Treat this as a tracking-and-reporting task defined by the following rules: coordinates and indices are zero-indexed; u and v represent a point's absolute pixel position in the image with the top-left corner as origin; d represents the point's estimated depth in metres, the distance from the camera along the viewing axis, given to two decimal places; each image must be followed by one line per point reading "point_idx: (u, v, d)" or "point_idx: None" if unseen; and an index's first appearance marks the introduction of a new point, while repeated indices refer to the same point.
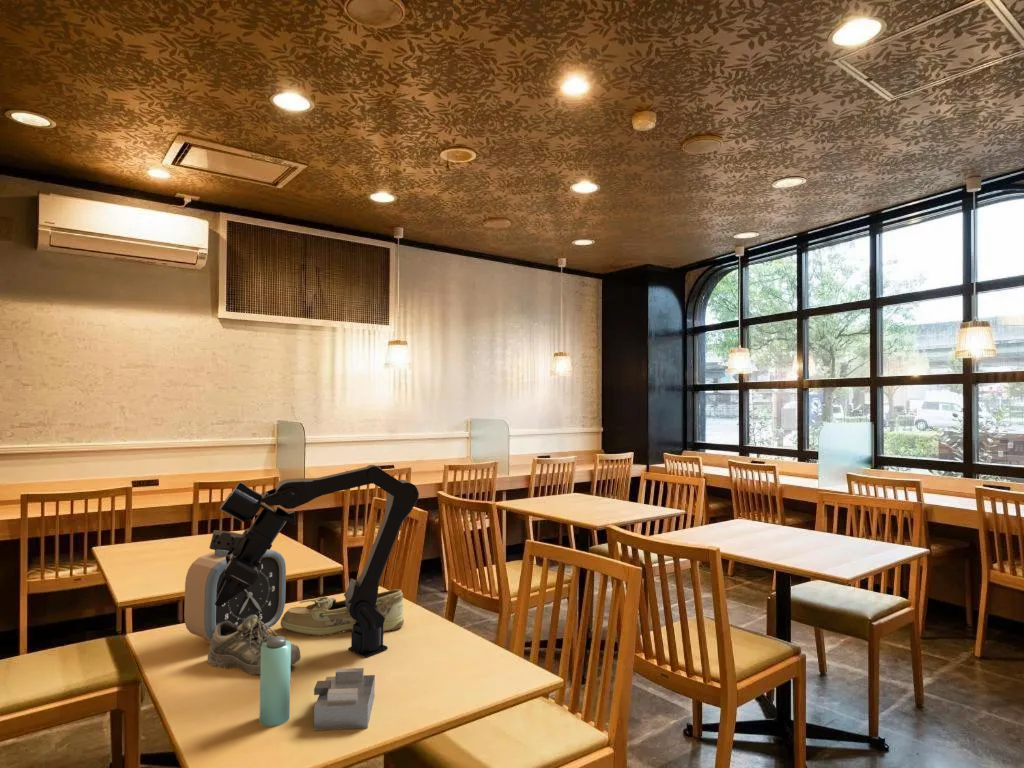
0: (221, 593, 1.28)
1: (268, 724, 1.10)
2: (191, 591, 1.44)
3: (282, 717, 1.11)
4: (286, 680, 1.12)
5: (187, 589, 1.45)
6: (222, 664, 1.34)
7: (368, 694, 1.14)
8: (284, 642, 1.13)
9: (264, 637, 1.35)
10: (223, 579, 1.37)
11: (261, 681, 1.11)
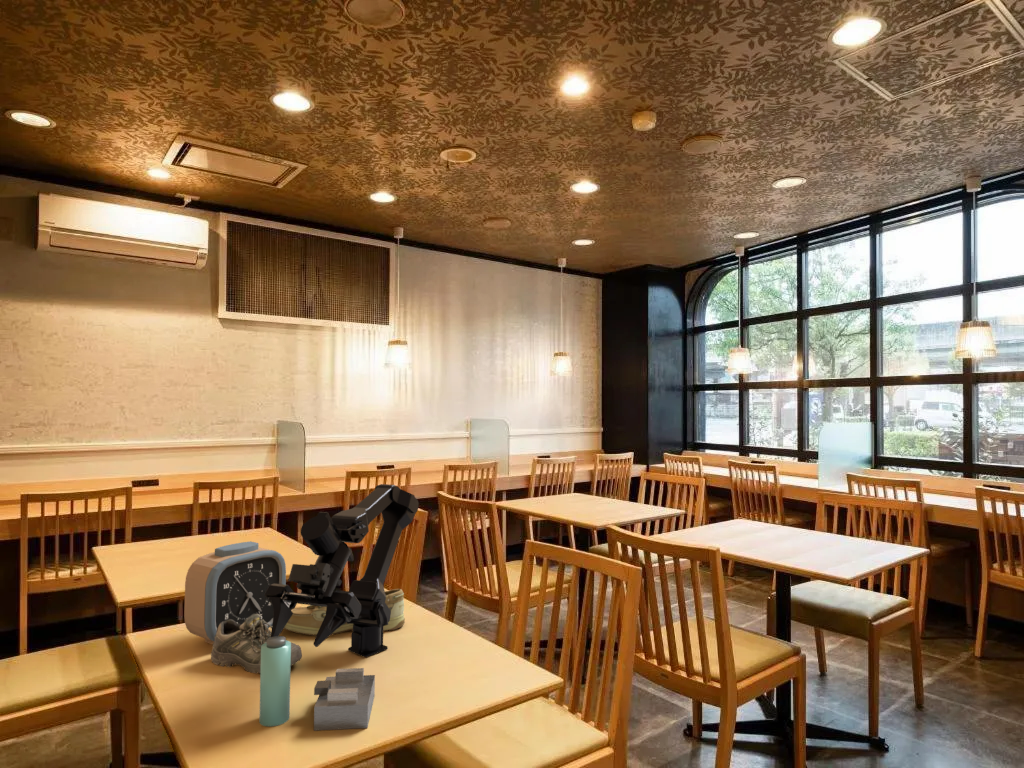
0: (324, 630, 1.17)
1: (268, 724, 1.10)
2: (191, 591, 1.44)
3: (282, 717, 1.11)
4: (286, 680, 1.12)
5: (187, 589, 1.45)
6: (225, 662, 1.34)
7: (368, 694, 1.14)
8: (284, 642, 1.13)
9: (266, 636, 1.36)
10: (277, 623, 1.20)
11: (261, 681, 1.11)
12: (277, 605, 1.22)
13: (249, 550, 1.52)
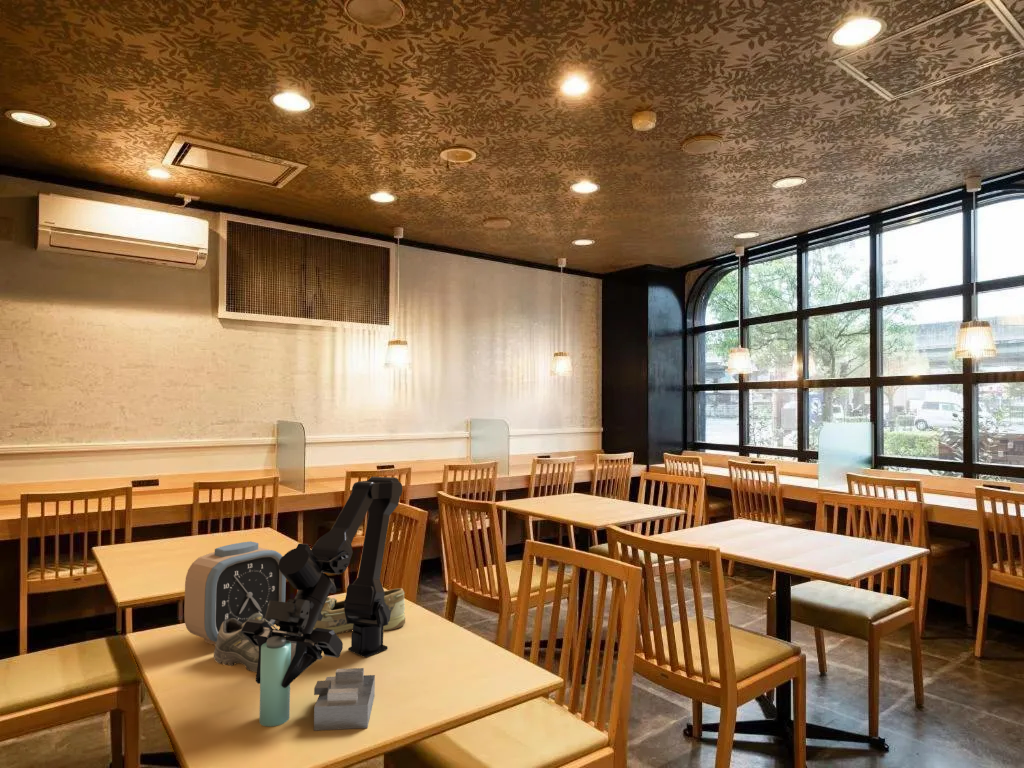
0: (293, 670, 1.12)
1: (268, 724, 1.10)
2: (191, 591, 1.44)
3: (282, 717, 1.11)
4: None
5: (187, 589, 1.45)
6: (227, 661, 1.35)
7: (368, 694, 1.14)
8: (284, 642, 1.13)
9: None
10: None
11: (261, 681, 1.11)
12: None
13: (249, 550, 1.52)
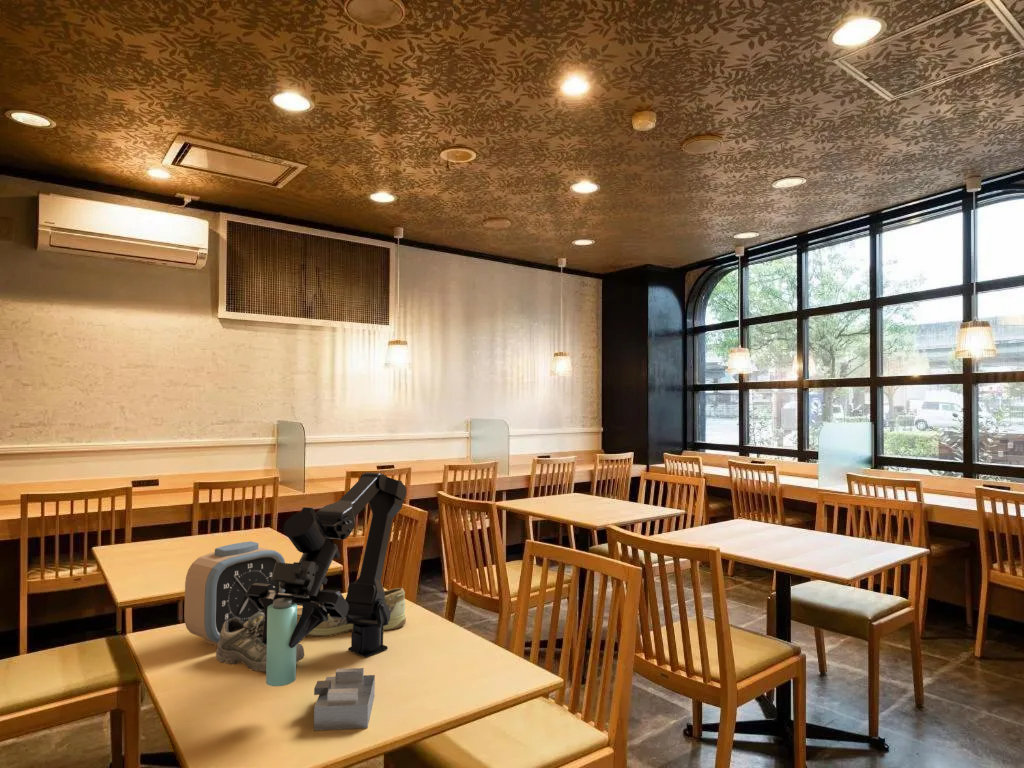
0: (299, 631, 1.12)
1: (275, 684, 1.10)
2: (191, 591, 1.44)
3: (289, 677, 1.11)
4: None
5: (187, 589, 1.45)
6: (229, 660, 1.36)
7: (368, 694, 1.14)
8: (290, 603, 1.13)
9: None
10: None
11: (268, 642, 1.11)
12: None
13: (249, 550, 1.52)
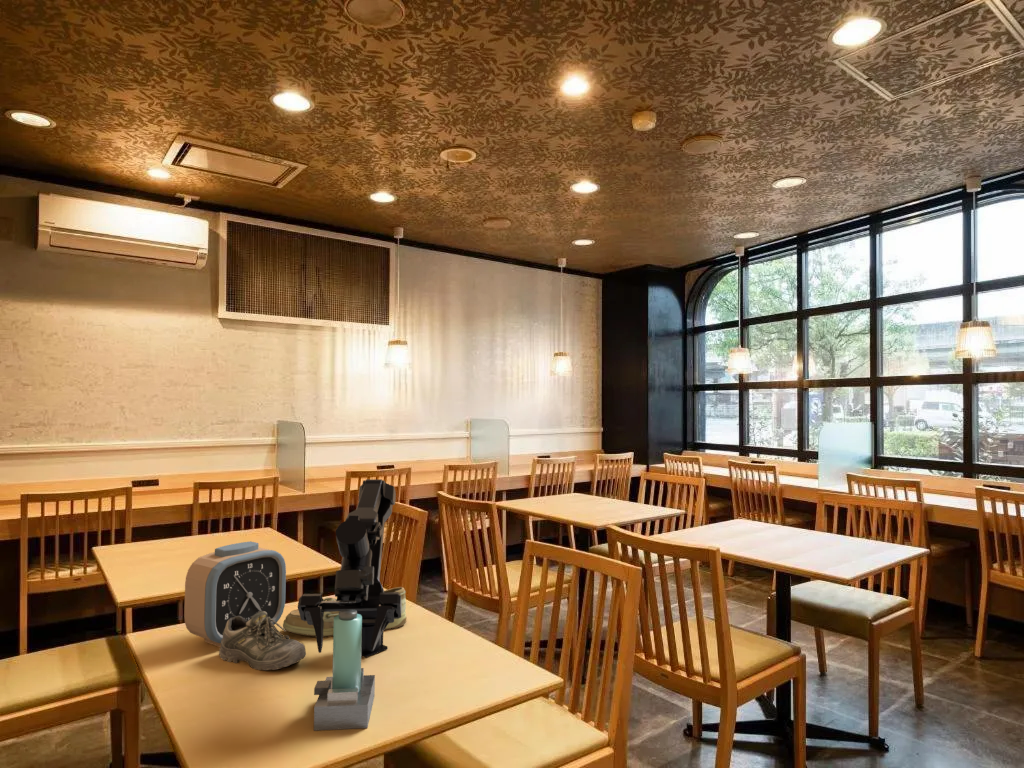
0: (378, 634, 1.16)
1: None
2: (191, 591, 1.44)
3: (358, 685, 1.15)
4: (360, 649, 1.16)
5: (187, 589, 1.45)
6: (231, 658, 1.37)
7: (368, 694, 1.14)
8: (356, 613, 1.16)
9: (272, 633, 1.38)
10: (321, 634, 1.15)
11: (338, 653, 1.13)
12: (316, 615, 1.16)
13: (249, 550, 1.52)
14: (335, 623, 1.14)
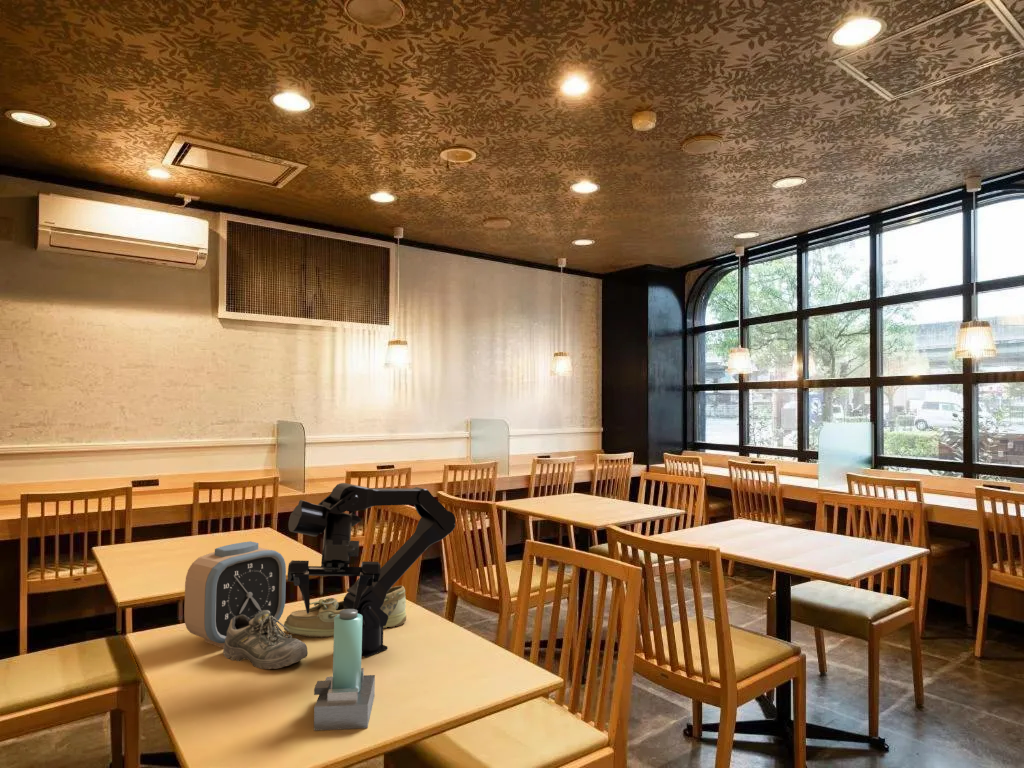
0: (360, 598, 1.32)
1: None
2: (191, 591, 1.44)
3: (359, 685, 1.15)
4: (361, 649, 1.16)
5: (187, 589, 1.45)
6: (235, 657, 1.37)
7: (368, 694, 1.14)
8: (357, 613, 1.16)
9: (274, 632, 1.38)
10: None
11: (338, 653, 1.13)
12: (305, 581, 1.30)
13: (249, 550, 1.52)
14: (336, 622, 1.14)
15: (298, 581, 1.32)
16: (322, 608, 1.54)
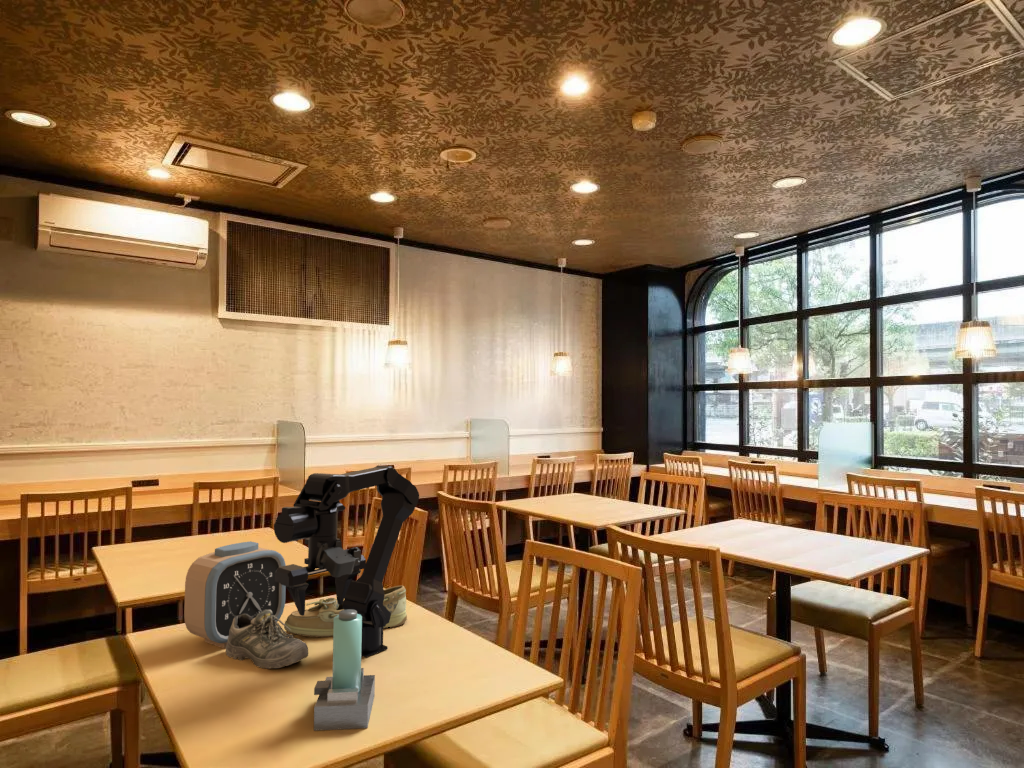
0: None
1: None
2: (191, 591, 1.44)
3: (358, 685, 1.15)
4: (360, 649, 1.15)
5: (187, 589, 1.45)
6: (237, 655, 1.38)
7: (368, 694, 1.14)
8: (356, 614, 1.16)
9: (276, 632, 1.38)
10: None
11: (338, 654, 1.13)
12: (303, 589, 1.27)
13: (249, 550, 1.52)
14: (335, 623, 1.14)
15: None
16: (322, 608, 1.54)
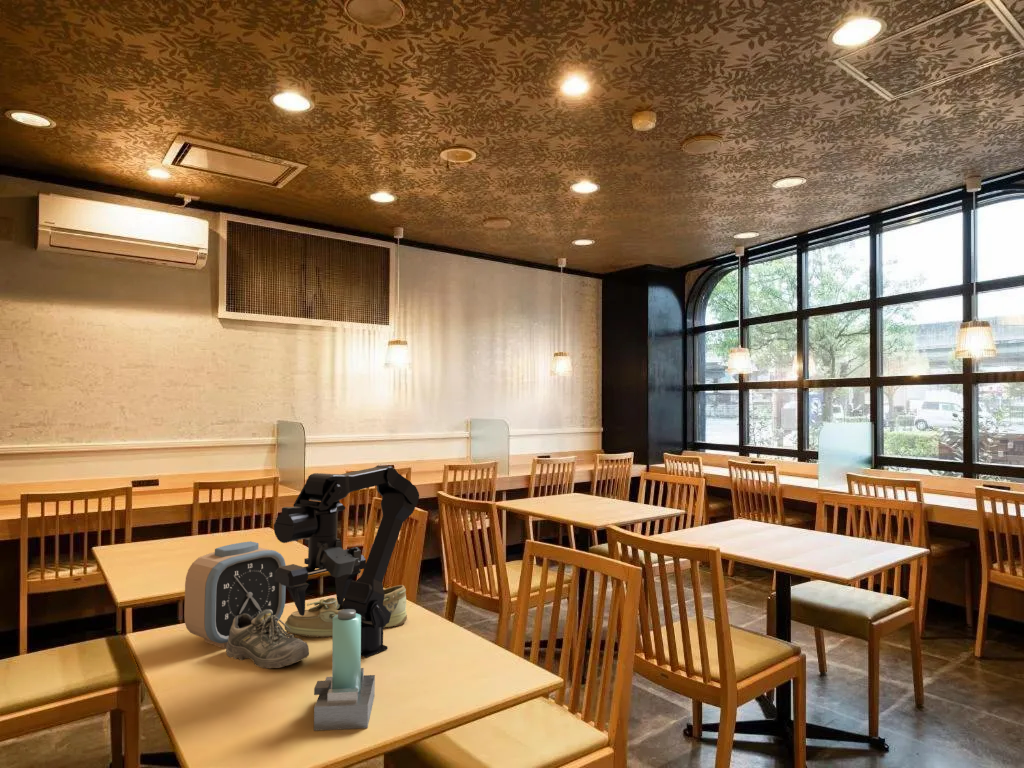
0: None
1: None
2: (191, 591, 1.44)
3: (358, 685, 1.15)
4: (360, 649, 1.16)
5: (187, 589, 1.45)
6: (237, 655, 1.38)
7: (368, 694, 1.14)
8: (355, 613, 1.16)
9: (276, 632, 1.39)
10: None
11: (337, 653, 1.13)
12: (303, 589, 1.27)
13: (249, 550, 1.52)
14: (334, 623, 1.14)
15: None
16: (323, 608, 1.54)
